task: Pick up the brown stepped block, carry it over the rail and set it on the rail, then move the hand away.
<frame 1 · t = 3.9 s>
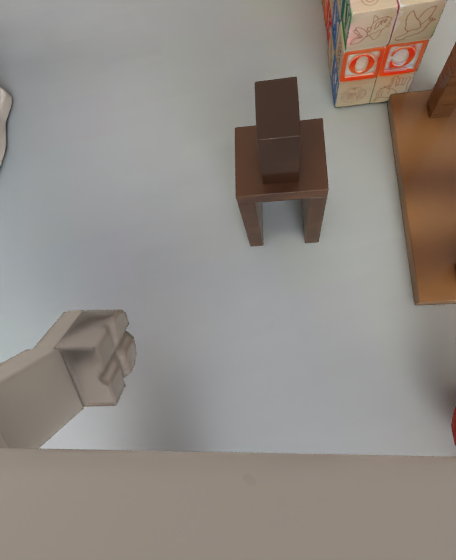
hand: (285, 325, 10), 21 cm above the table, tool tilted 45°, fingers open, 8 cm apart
stack of blocks: (356, 13, 37), on the table
brown stepped block: (282, 216, 33), on the table
rail: (445, 193, 31), on the table
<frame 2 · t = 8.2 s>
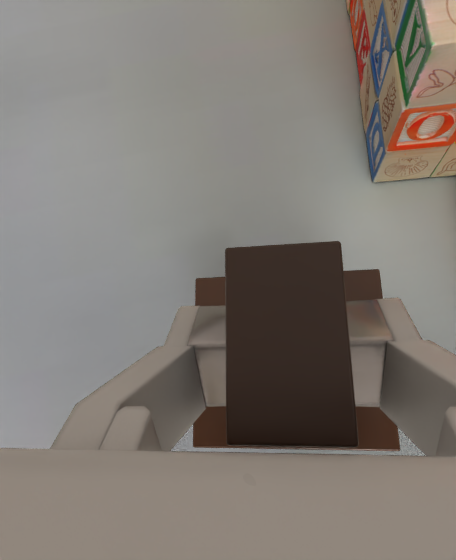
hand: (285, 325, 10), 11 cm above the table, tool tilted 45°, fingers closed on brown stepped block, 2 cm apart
stack of blocks: (401, 30, 24), on the table
brown stepped block: (289, 368, 20), on the table, touching gripper
when the fingers open (16 cm above the table, at t = 16.4 s): brown stepped block stays where it is, resting on rail.
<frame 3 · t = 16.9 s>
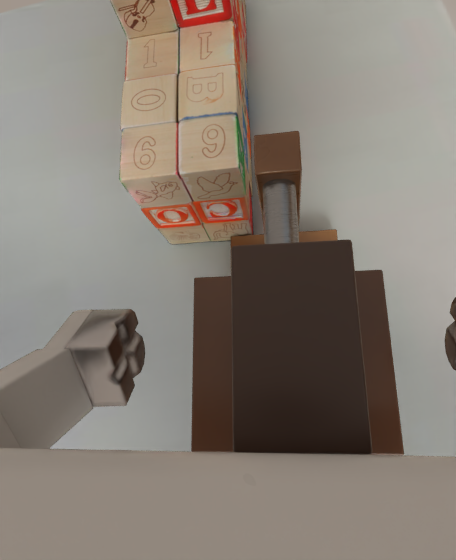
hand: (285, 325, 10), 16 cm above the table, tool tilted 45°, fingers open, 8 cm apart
stack of blocks: (211, 118, 30), on the table
brown stepped block: (285, 370, 19), point 5 cm above the table, touching rail
rail: (289, 372, 24), on the table
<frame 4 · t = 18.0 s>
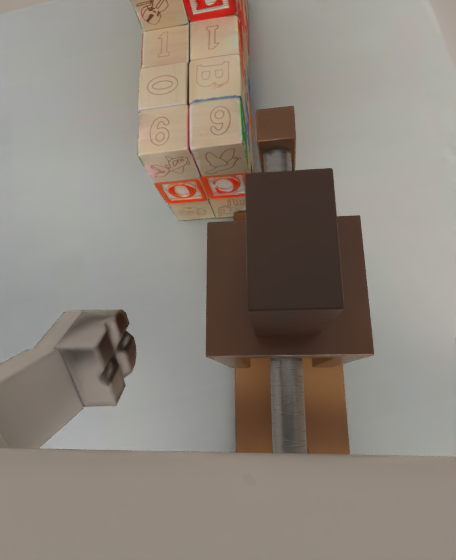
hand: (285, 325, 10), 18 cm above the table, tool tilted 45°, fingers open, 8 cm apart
stack of blocks: (216, 106, 33), on the table
brown stepped block: (279, 323, 22), point 5 cm above the table, touching rail
rail: (286, 333, 27), on the table
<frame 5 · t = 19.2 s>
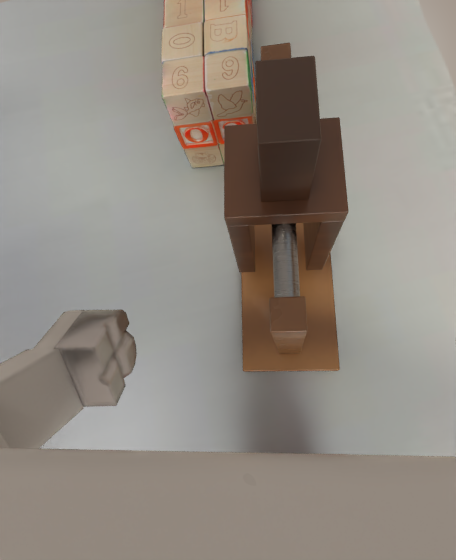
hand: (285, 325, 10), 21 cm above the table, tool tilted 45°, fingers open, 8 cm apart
stack of blocks: (223, 71, 38), on the table
brown stepped block: (279, 237, 27), point 5 cm above the table, touching rail
rail: (285, 258, 32), on the table
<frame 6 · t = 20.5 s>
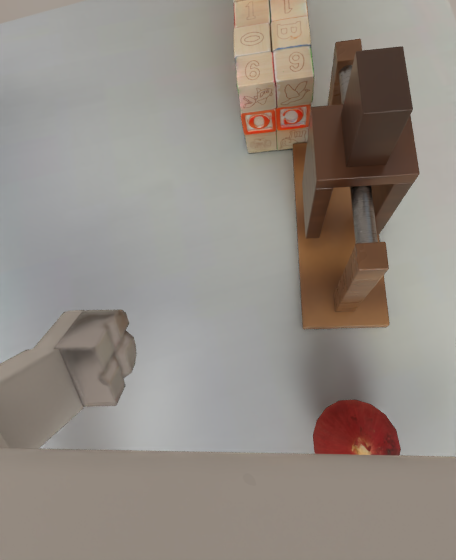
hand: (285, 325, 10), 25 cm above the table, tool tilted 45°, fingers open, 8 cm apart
stack of blocks: (272, 67, 42), on the table
onion: (347, 435, 31), on the table
brown stepped block: (339, 208, 31), point 5 cm above the table, touching rail
rail: (335, 231, 36), on the table
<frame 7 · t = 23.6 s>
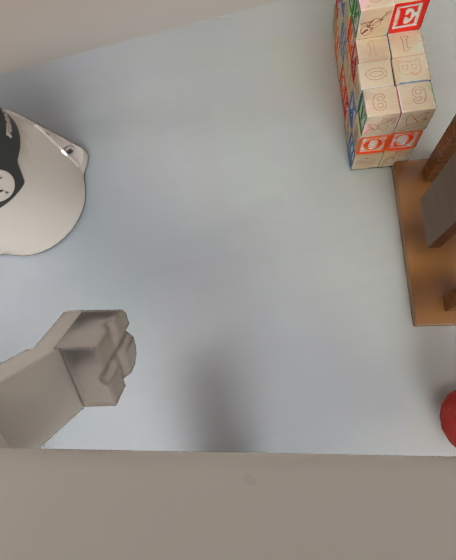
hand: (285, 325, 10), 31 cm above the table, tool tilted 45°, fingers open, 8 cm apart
stack of blocks: (366, 91, 47), on the table
brown stepped block: (455, 221, 36), point 5 cm above the table, touching rail
rail: (436, 240, 40), on the table
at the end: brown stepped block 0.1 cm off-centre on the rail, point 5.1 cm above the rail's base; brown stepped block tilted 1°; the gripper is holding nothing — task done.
